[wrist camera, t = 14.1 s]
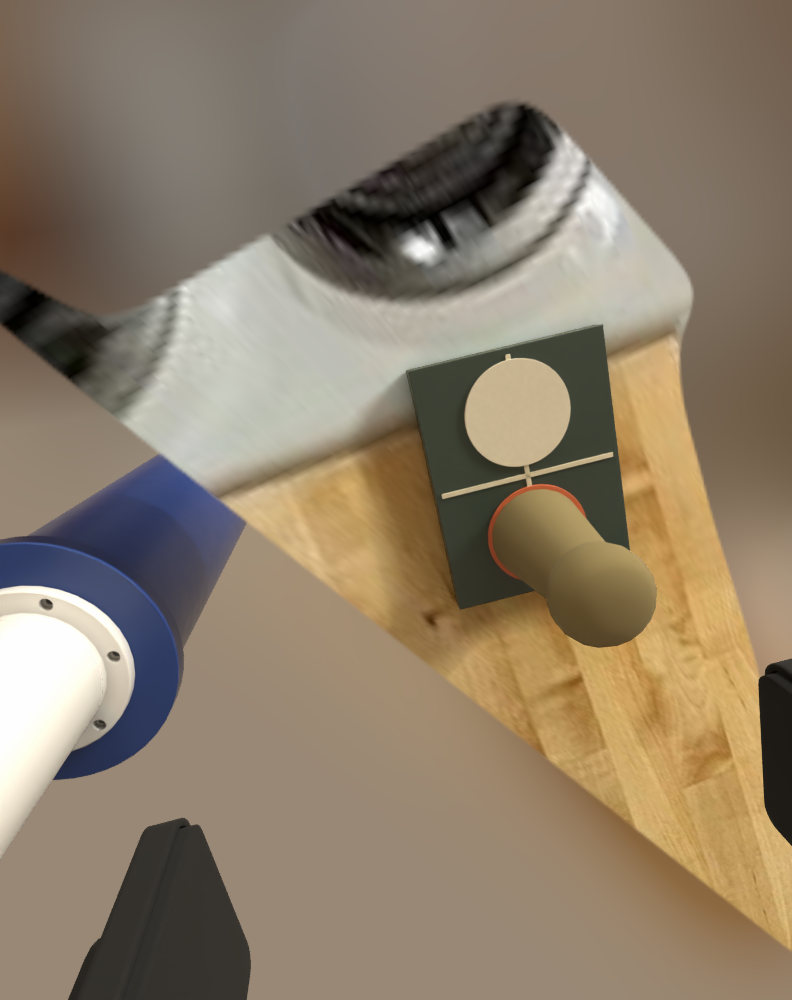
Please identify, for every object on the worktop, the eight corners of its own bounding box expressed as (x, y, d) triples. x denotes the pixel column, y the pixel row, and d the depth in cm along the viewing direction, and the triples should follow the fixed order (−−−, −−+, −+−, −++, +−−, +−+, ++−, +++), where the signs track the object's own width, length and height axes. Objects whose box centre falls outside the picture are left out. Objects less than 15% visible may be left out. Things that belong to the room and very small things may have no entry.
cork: (486, 575, 38) (543, 666, 27) (498, 485, 36) (565, 545, 26) (574, 579, 38) (663, 669, 28) (590, 492, 37) (691, 552, 26)
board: (456, 602, 39) (460, 611, 38) (405, 370, 35) (408, 371, 34) (623, 559, 40) (633, 567, 39) (594, 324, 35) (604, 324, 34)
